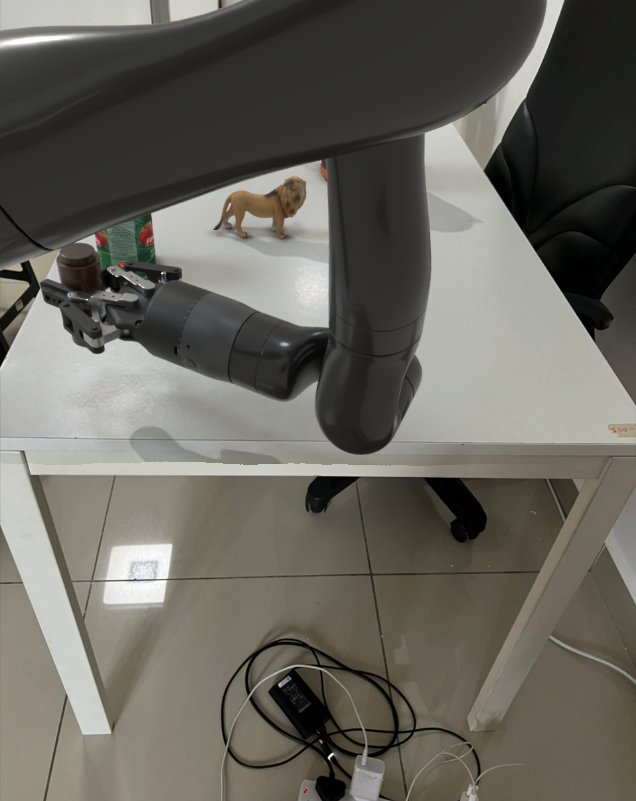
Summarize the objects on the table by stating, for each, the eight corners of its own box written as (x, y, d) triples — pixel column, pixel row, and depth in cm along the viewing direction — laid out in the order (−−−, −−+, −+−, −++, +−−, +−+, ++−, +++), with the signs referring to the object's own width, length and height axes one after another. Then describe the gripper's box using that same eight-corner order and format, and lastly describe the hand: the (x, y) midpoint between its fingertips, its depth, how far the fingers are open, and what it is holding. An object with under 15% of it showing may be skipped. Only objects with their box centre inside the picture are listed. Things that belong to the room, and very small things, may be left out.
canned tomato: (166, 273, 92) (160, 200, 85) (114, 288, 88) (103, 212, 81) (141, 249, 96) (133, 178, 89) (90, 262, 92) (78, 188, 85)
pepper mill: (79, 351, 65) (62, 264, 59) (67, 331, 68) (49, 245, 61) (117, 341, 67) (105, 255, 60) (104, 321, 69) (91, 237, 63)
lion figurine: (300, 223, 107) (304, 170, 101) (307, 238, 103) (311, 184, 97) (211, 225, 104) (209, 171, 98) (214, 241, 100) (213, 185, 94)
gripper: (246, 264, 62) (103, 217, 67) (156, 338, 52) (-5, 276, 57) (245, 328, 67) (112, 280, 72) (163, 407, 57) (14, 344, 62)
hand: (61, 278), depth 64 cm, fingers closed on pepper mill, 4 cm apart
